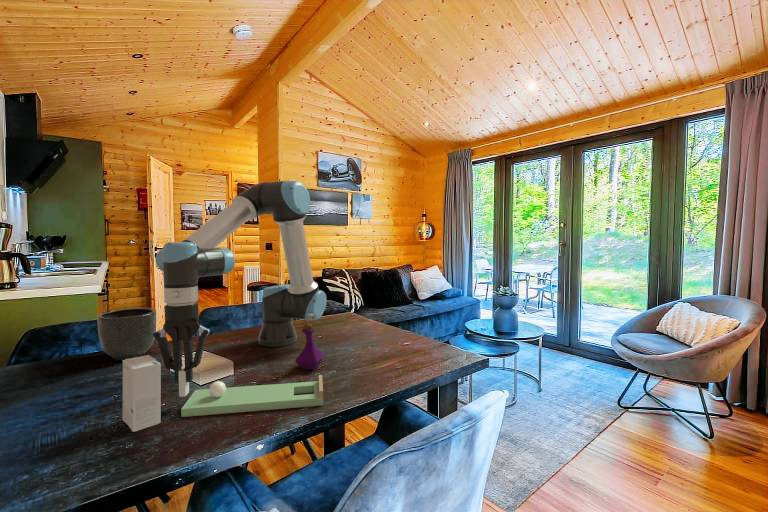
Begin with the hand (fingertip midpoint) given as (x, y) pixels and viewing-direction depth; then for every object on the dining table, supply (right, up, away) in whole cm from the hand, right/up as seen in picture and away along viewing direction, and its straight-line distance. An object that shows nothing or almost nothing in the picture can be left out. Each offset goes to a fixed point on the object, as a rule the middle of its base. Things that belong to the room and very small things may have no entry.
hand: (184, 394), depth 94 cm
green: (+18, -3, +4) cm, 18 cm away
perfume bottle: (+27, -2, +28) cm, 39 cm away
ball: (+8, +1, +1) cm, 8 cm away
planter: (-40, -1, +37) cm, 55 cm away
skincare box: (-6, -4, -7) cm, 10 cm away
